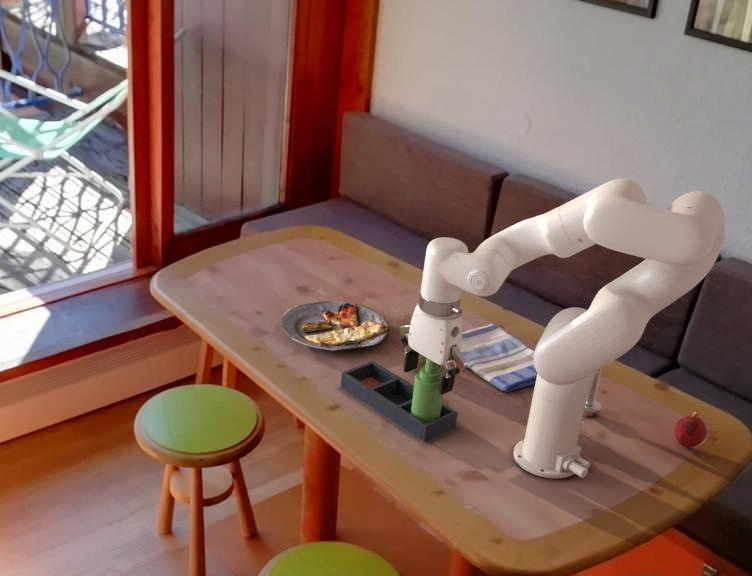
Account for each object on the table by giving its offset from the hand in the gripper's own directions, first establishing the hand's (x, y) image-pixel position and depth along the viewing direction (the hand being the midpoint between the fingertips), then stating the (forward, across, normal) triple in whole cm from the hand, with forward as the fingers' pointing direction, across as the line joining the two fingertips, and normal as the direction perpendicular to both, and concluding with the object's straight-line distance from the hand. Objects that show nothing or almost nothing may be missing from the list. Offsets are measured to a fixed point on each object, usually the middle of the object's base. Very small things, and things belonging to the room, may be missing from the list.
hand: (427, 380), depth 206 cm
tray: (+11, +7, 0) cm, 13 cm away
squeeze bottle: (+11, +16, -16) cm, 26 cm away
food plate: (+11, +39, -11) cm, 43 cm away
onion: (+10, -36, -37) cm, 52 cm away
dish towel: (+11, +8, -32) cm, 35 cm away
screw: (+10, -17, -31) cm, 37 cm away
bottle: (+10, -1, 0) cm, 10 cm away
